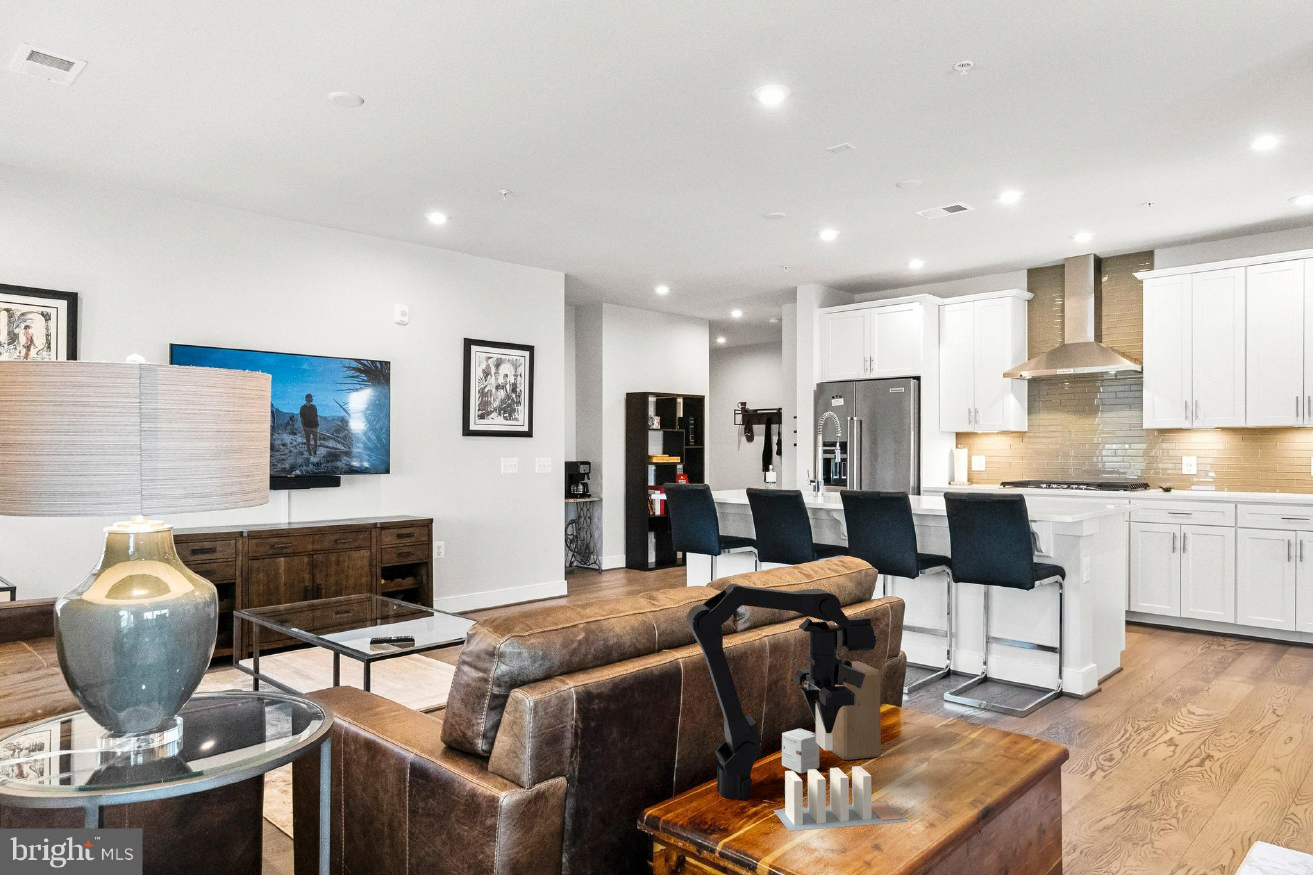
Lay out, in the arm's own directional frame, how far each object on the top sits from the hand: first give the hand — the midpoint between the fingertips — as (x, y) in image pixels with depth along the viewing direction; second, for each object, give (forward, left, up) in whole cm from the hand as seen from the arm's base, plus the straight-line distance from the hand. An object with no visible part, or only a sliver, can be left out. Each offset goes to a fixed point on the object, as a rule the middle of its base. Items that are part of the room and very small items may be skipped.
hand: (823, 728), depth 167 cm
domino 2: (+7, -13, -12) cm, 19 cm away
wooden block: (-9, +25, -13) cm, 29 cm away
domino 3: (+9, -9, -12) cm, 18 cm away
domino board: (+9, -9, -13) cm, 18 cm away
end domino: (0, 0, -4) cm, 4 cm away
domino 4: (+12, -5, -12) cm, 18 cm away
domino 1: (+4, -16, -12) cm, 21 cm away
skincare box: (-12, +9, -13) cm, 20 cm away
